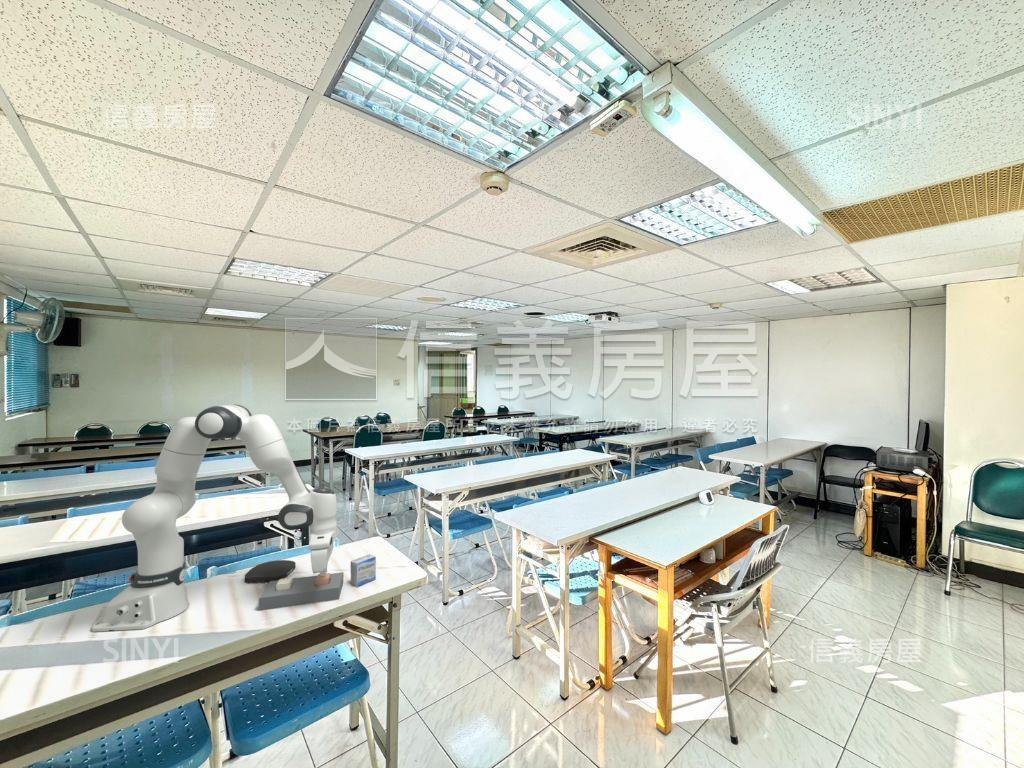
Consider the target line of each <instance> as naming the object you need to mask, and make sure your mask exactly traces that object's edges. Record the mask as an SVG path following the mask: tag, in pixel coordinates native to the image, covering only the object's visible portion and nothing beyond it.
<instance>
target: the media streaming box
mask: <svg viewBox="0 0 1024 768" xmlns="http://www.w3.org/2000/svg"><path fill="white" fill-rule="evenodd" d="M296 565H297V563H296V562H295V561H293V560H287V559H281V560H278V559H277V560H270V561H269V560H268V561H265V562H262V563H259V564H257V565H255V566H253V567H252V568H251V569H249V570H248V571H247V572H246V573H245V575H244V583H245V584H269V582H270V581H276V580H280V579H285V578H288V576H290V575H291V573H292V572H293V571H295V569H296Z"/></svg>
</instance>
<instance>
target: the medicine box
mask: <svg viewBox="0 0 1024 768" xmlns="http://www.w3.org/2000/svg"><path fill="white" fill-rule="evenodd" d="M376 559H377V558H376V556H374V555H372V554H370V553H369V554H367V555H364V556H362V557H358V558H356V559H353V560H350V585H352V586H355V587H356V588H360V587H361V586H364V585H366V584H368V583H371V582H373V581H375V580H376V578H377V577H376V576H377V575H376V573H377V562H376V561H377V560H376Z"/></svg>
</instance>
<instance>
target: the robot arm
mask: <svg viewBox="0 0 1024 768" xmlns="http://www.w3.org/2000/svg"><path fill="white" fill-rule="evenodd" d="M234 438H238V439H240V440H241V441H242V442H243V444H244V446H245V448H246V451H247V453H248V455H249V457H250V459H251V461H252V463H253V464H254V466H256V468H257V469H258V470H260V471H262V472H267V473H271V474H272V475H274V476H275V477H277V478H278V480H279V481H280V482H281V483H280V484H281V485H282V486H283V489H284V491H285V492H286V495H287V496H288V502H287V503H286V504H285V505H283V506H282V508H280V510H279V512H278V516H277V520H278V523H279V525H280V526H281V527H282V528H283V529H285V530H287V531H296V530H301V529H305V528H307V527H308V528H309V543H308V550H310V561H311V562H310V563H311V564H310V565H311V570H312V572H313V574H320V576H325V575H326V573H327V572H328V564H329V563H328V562H329V560H330V557H331V556H332V554H333V549H334V542H335V541H337V539H338V521H337V514H338V500H337V494H336V492H335V491H334V490H333V489H331V488H326V487H317V488H314V489H312V490H311V491H310V489H308V487H307V485H306V483H305V481H304V480H303V477H302V476H301V474H300V472H299V470H298V468H297V467H296V465H295V463H294V461H293V458H292V457H291V456H292V455H291V453H290V451H289V448H288V447H287V446H288V445H287V444H286V441H285V439H284V437H283V434H282V433H281V431H280V429H279V427H278V425H277V424H276V423H275V421H274V419H273V418H272V417H271V416H270V415H268V414H264V413H258V414H253V415H252V413H251V411H250V410H249V409H248V408H247V407H245V406H243V405H240V404H220V405H214V406H210V407H207V408H204V409H203V410H202V411H201V412H200V413H198V414H197V416H184V417H182V418H180V419H178V420H177V421H176V423H175V424H174V426H173V427H172V429H171V430H170V432H169V434H168V435H167V437H166V440H165V442H164V443H163V447H162V449H161V452H160V454H159V457H158V459H157V462H156V465H155V467H154V474H155V476H156V483H155V484H156V485H155V488H154V490H153V492H152V493H150V494H148V495H145V496H143V497H141V498H139V499H137V500H135V501H134V502H132V504H130V505H129V506H128V507H127V508H126V509H125V510H124V511H123V513H122V515H121V525H122V526H123V527H124V529H125V530H126V531H127V532H129V533H131V534H132V535H133V539H134V541H135V544H136V548H137V570H136V571H135V572H134V573H132V574H131V576H129V577H128V578H127V579H126V581H127V583H130V584H129V585H128V586H127V587H126V588H124V589H123V590H122V591H120V592H119V593H118V594H117V595H115V596H114V597H113V598H112V599H111V600H110V601H109V602H108V603H107V605H106V606H105V607H104V611H103V615H102V616H100V617H99V618H98V619H96V620H95V622H94V623H93V624H92V627H91V632H92V633H93V632H94V633H95V632H109V630H114V631H129V630H131V631H132V630H144V629H147V628H149V627H151V626H154V625H156V624H157V623H160V622H164V621H166V620H169V619H171V618H174V617H175V616H178V615H179V614H181V613H182V612H184V611H185V610H187V609H188V608H189V607H190V602H189V598H188V596H187V592H186V587H185V586H186V585H185V580H186V574H187V573H186V563H185V561H184V559H185V556H184V555H185V552H184V551H185V550H184V549H185V548H184V547H185V543H184V542H185V540H184V538H183V537H182V536H181V535H180V534H179V533H178V532H179V531H178V529H177V524H176V522H177V520H178V519H180V518H181V517H183V516H185V515H186V514H187V513H188V512H189V511H190V510H191V509H192V508H193V507H194V505H195V504H196V501H197V494H196V492H195V490H196V482H197V477H198V473H199V471H200V467H201V464H202V462H203V459H204V457H205V455H206V452H207V449H208V446H209V444H210V442H211V441H212V440H223V439H234Z"/></svg>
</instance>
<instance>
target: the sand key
mask: <svg viewBox="0 0 1024 768" xmlns="http://www.w3.org/2000/svg"><path fill="white" fill-rule="evenodd" d="M293 578H294V577H286V578H285V579H280V580H279V581H278V583H277V584H276V591H280V590H287V589H291V587H292V585H293Z"/></svg>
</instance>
